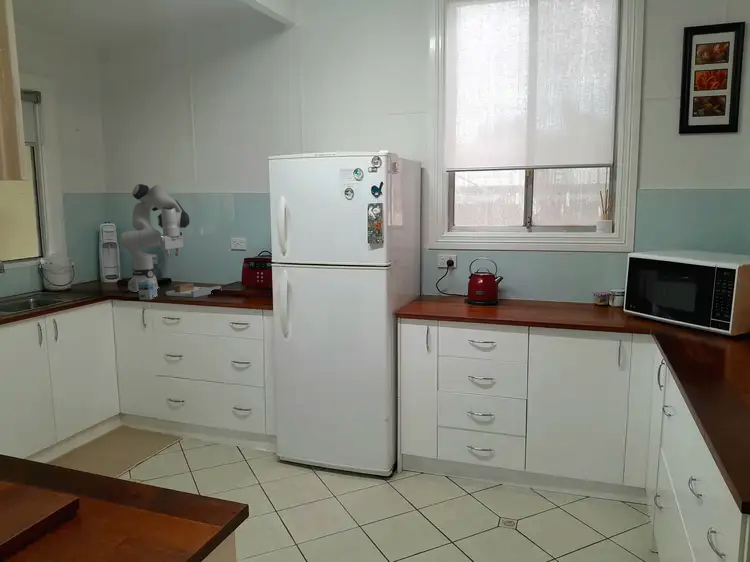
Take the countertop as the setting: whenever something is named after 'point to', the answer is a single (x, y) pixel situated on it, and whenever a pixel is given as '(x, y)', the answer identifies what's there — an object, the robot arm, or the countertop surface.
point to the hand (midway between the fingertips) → (173, 256)
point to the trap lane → (194, 292)
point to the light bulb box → (147, 289)
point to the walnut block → (184, 287)
